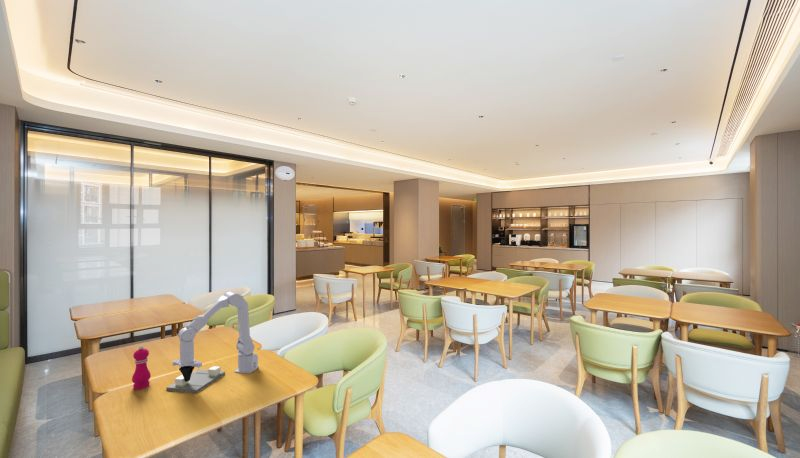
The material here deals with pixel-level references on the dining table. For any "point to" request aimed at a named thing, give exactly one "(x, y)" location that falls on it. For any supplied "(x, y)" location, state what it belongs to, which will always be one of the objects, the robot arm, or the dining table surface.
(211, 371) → the right knob
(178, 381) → the left knob
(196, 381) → the switch board
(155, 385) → the dining table surface
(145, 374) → the pepper mill
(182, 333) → the robot arm
